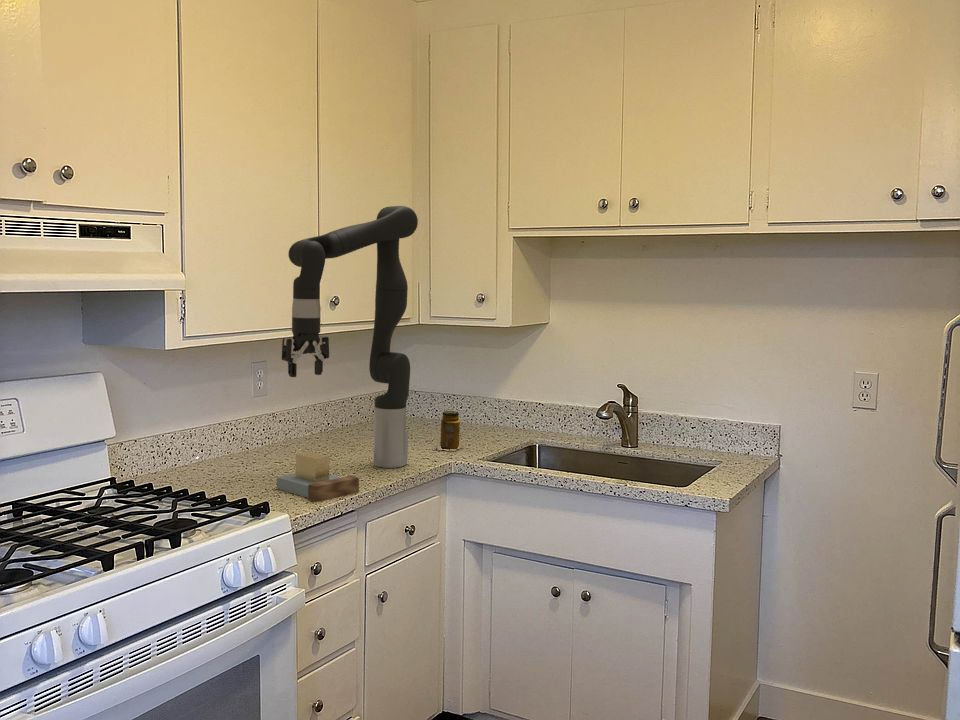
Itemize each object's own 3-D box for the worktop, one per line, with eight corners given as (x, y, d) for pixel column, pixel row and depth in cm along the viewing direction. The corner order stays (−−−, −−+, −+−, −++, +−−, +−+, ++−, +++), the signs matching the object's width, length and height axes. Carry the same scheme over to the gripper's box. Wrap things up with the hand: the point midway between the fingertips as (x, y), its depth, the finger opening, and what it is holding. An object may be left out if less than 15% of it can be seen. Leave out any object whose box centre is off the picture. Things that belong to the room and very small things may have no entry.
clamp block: (309, 474, 236) (309, 451, 235) (329, 479, 231) (329, 456, 230) (295, 476, 233) (295, 454, 232) (315, 482, 228) (315, 459, 227)
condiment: (463, 447, 292) (464, 411, 291) (454, 452, 284) (455, 415, 283) (442, 445, 294) (443, 409, 293) (432, 450, 286) (433, 413, 285)
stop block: (351, 490, 233) (351, 475, 233) (358, 492, 231) (359, 477, 231) (308, 500, 222) (308, 484, 222) (315, 502, 220) (316, 486, 220)
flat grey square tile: (313, 480, 241) (313, 469, 241) (348, 490, 232) (348, 479, 232) (276, 488, 232) (276, 477, 232) (311, 498, 223) (311, 487, 223)
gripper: (293, 317, 233) (293, 379, 234) (335, 316, 243) (335, 375, 245) (275, 315, 238) (275, 376, 239) (318, 314, 248) (317, 372, 250)
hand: (305, 375), depth 242 cm, fingers open, 8 cm apart
